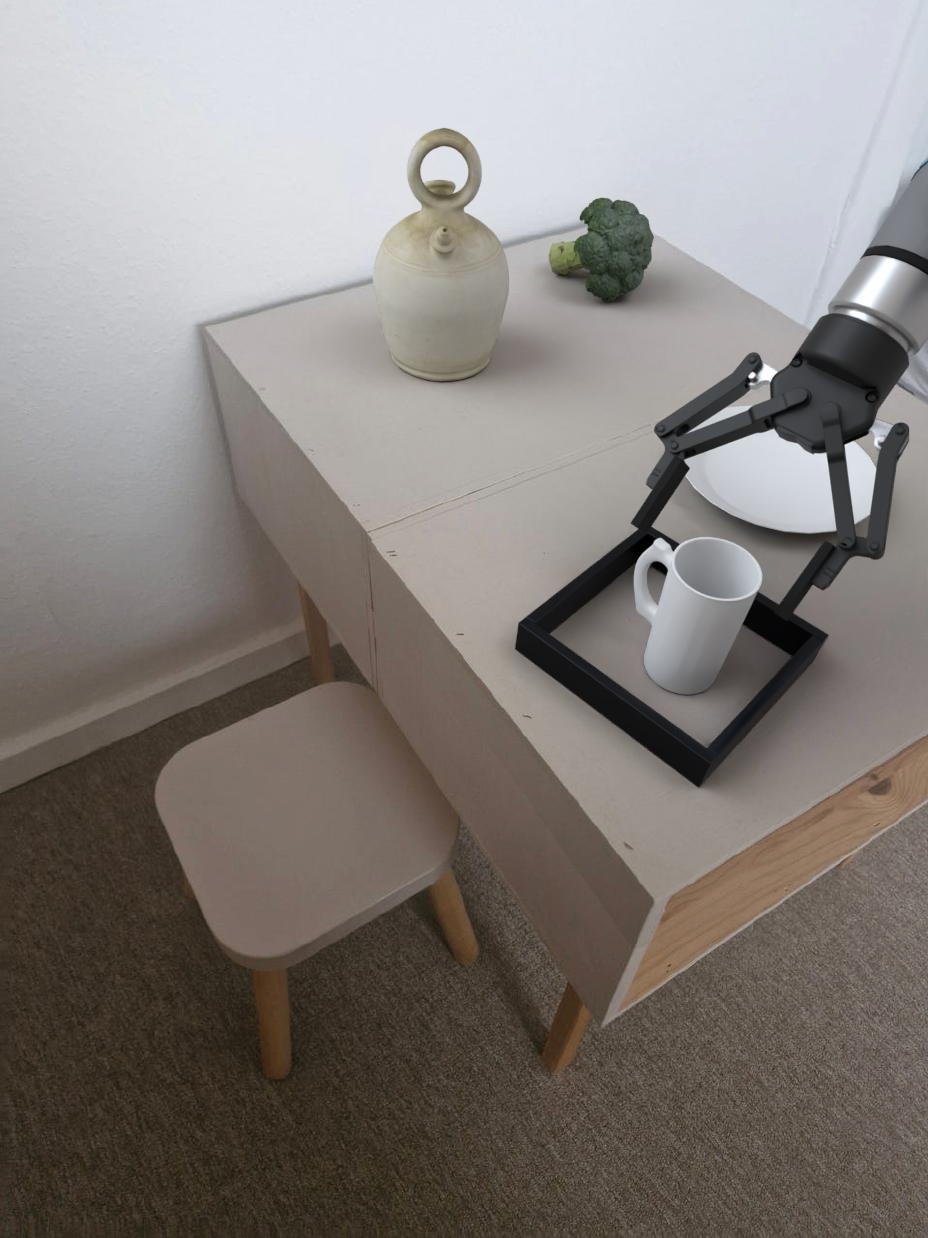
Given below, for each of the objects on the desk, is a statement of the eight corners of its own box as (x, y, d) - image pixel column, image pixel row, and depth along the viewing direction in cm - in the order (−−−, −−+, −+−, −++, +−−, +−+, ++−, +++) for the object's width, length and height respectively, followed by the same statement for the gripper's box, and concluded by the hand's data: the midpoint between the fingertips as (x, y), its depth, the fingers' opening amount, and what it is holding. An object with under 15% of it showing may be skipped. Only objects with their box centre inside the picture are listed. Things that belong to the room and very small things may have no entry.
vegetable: (582, 232, 122) (678, 211, 112) (572, 321, 122) (666, 308, 113) (534, 196, 113) (633, 170, 103) (522, 292, 113) (621, 275, 104)
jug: (399, 312, 109) (396, 94, 90) (515, 334, 107) (537, 115, 88) (357, 375, 99) (344, 145, 81) (484, 400, 97) (502, 170, 78)
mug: (735, 671, 72) (781, 572, 63) (686, 712, 69) (726, 614, 60) (646, 603, 77) (676, 503, 68) (596, 639, 74) (621, 538, 65)
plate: (913, 497, 89) (922, 480, 87) (787, 579, 80) (795, 562, 78) (758, 401, 99) (764, 384, 98) (632, 464, 91) (636, 447, 89)
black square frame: (814, 660, 74) (829, 634, 71) (698, 788, 65) (710, 764, 62) (638, 549, 82) (645, 522, 79) (514, 649, 73) (518, 622, 70)
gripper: (1026, 424, 62) (850, 661, 66) (736, 295, 73) (599, 505, 77) (1040, 389, 56) (843, 655, 59) (719, 253, 66) (570, 485, 70)
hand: (705, 571), depth 68 cm, fingers open, 13 cm apart
